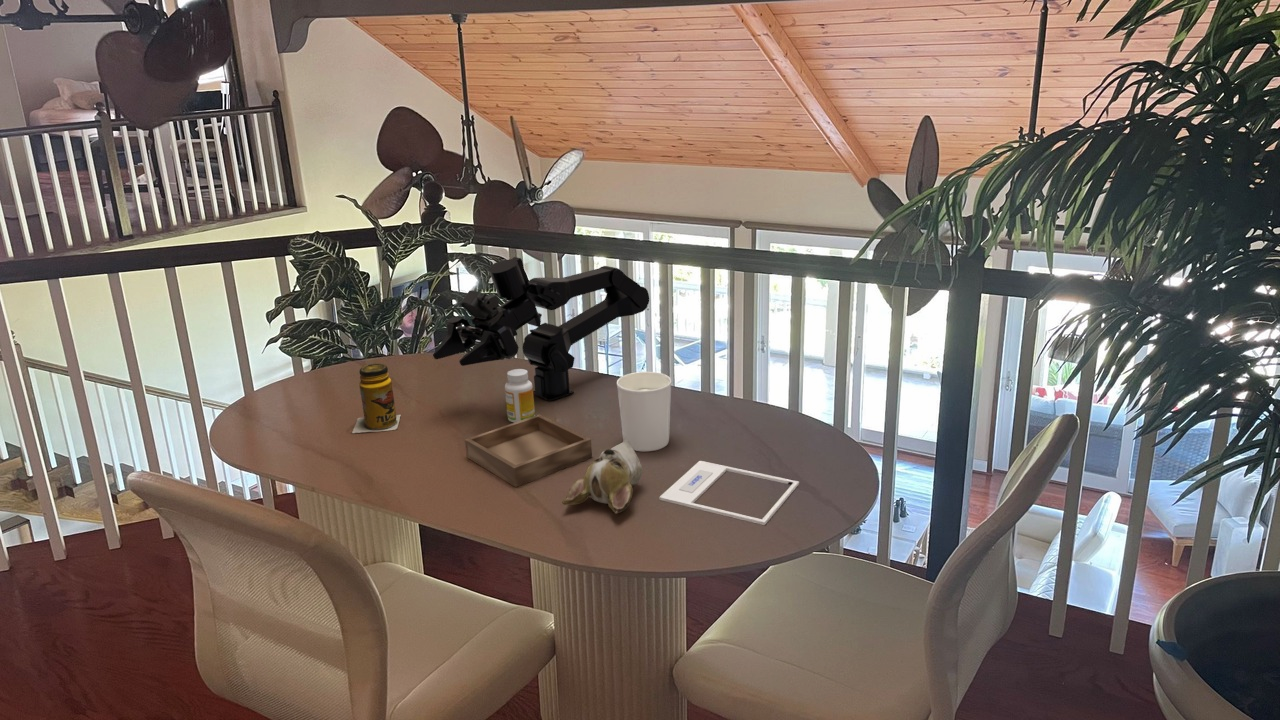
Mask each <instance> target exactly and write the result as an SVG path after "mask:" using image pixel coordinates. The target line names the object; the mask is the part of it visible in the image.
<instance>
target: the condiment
mask: <svg viewBox="0 0 1280 720" xmlns="http://www.w3.org/2000/svg"><path fill="white" fill-rule="evenodd" d="M359 379H360V381H359V390H360V391H359V392H360V393H359V394H360V398H361V404H362V405H361V406H362V410H363V411H362V412H363V417H357V419H356V423H355V425H354V428H353V429H352V432H351V434H359V433H360V434H361V433H370V432H371V433H373V432H388V431H396V430H397V429H398V426H399V424H400V420H401V414H397V413H396V412H397V411H396V405H395V397H394V391H393V383H392V379H391V378H390V373H389V369H388V366H387V365H386V364H383V363H369V364H366V365H365V366H364V365H363V366H362V367H360V369H359Z"/></svg>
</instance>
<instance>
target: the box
mask: <svg viewBox="0 0 1280 720" xmlns="http://www.w3.org/2000/svg"><path fill="white" fill-rule="evenodd" d="M464 443H465V452H466V458H467V459H469V460H470V461H472V462H474V463H476V464H477V465H479V466H480V467H482V468H483V469H484V470H487V471H489V472H490V473H492V474H494V475H495V476H497V477H499V478H500V479H502V480H503V481H505V482H507V483H508V484H510V485H512V486H514V487H515V488H517V487H518V488H519V487H520V486H523V485H525V484H528V483H531V482H532V481H536V480H539V479H540V478H544V477H546V476H548V475H551V474H553V473H556V472H558V471H560V470H563V469H566V468H568V467H571V466H574V465H575V464H579V463H582V462H584V461H586V460H588V459H592V458H593V451H592V450H593V449H592V439H591V438H589V437H587V436H585V435H582V434H581V433H579V432H576V431H575V430H573V429H571V428H569V427H566V426H564V425H562V424H560V423H558V422H556V421H554V420H552V419H551V418H548V417H545V416H544V415H541V414H540V413H539V414H535V416H533V417H530V418H527V419H524V420H521V421H518V422H515V423H514V422H511V423H510V424H509V423H508V424H507V425H503V426H501V427H498V428H495V429H492V430H490V431H486V432H483V433H479V434H476V435H475V436H470V437H468V438H465V439H464Z"/></svg>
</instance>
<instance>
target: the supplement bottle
mask: <svg viewBox="0 0 1280 720" xmlns="http://www.w3.org/2000/svg"><path fill="white" fill-rule="evenodd" d="M506 376H507V378H506V379H507V382H506V383H505V385H504V392H505V403H506V415H507V416H506V417H507V420H508V421H509V422H511V423H515V422H518V421H521V420H524V419H527V418H530V417H533V416H536V410H535V409H536V408H535V401H534V394H533V391H534V387H533V383H532V381H530V380H529V372H528V370H527V369H524V368H514V369H511V370H508V371H507V372H506Z"/></svg>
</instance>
